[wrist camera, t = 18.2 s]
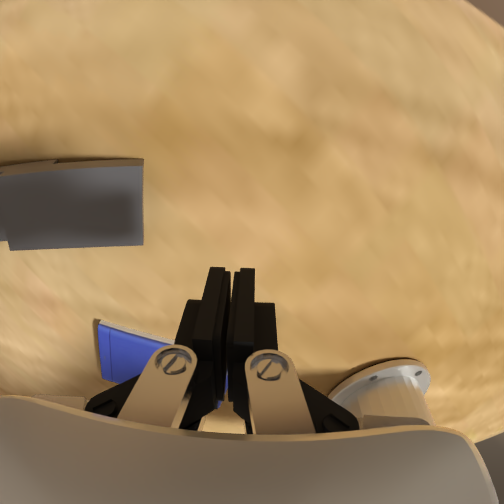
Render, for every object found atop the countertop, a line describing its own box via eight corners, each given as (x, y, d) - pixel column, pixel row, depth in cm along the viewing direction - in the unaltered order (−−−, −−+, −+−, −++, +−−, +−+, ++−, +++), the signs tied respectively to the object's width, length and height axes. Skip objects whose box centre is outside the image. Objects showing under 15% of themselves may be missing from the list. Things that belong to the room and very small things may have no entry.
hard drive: (239, 363, 24) (96, 326, 23) (218, 410, 28) (102, 380, 26) (239, 350, 26) (103, 315, 24) (219, 398, 30) (106, 369, 28)
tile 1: (142, 165, 16) (-4, 177, 13) (143, 245, 18) (10, 250, 15) (143, 158, 17) (8, 168, 14) (143, 232, 20) (18, 238, 17)
